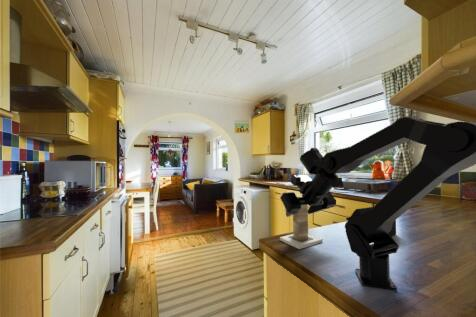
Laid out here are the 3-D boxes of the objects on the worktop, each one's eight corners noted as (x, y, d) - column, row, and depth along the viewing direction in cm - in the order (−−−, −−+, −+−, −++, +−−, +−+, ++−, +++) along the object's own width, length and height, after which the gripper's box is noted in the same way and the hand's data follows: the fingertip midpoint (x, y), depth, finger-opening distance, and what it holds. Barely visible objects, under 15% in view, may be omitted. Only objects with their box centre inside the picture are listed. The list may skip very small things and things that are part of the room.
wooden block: (308, 238, 69) (307, 203, 70) (299, 240, 68) (299, 204, 68) (301, 235, 72) (300, 201, 73) (293, 236, 71) (292, 202, 72)
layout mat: (302, 234, 77) (302, 231, 77) (322, 242, 69) (322, 238, 69) (279, 240, 71) (279, 236, 71) (299, 249, 64) (299, 245, 64)
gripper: (328, 166, 71) (307, 194, 81) (282, 167, 64) (266, 197, 74) (349, 191, 63) (323, 219, 73) (300, 196, 56) (278, 225, 66)
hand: (297, 214), depth 72 cm, fingers open, 9 cm apart
